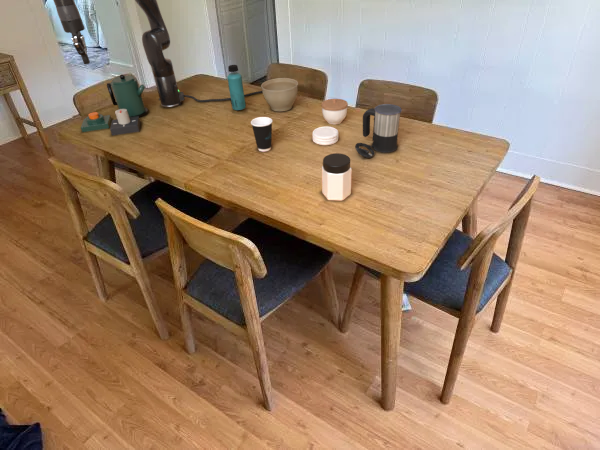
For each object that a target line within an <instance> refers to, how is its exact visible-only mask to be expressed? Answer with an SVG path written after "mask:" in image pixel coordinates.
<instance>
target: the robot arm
mask: <svg viewBox="0 0 600 450" xmlns="http://www.w3.org/2000/svg"><path fill="white" fill-rule="evenodd" d="M52 1H53V3H54V6H55V10H56V12H57V16H58V18H59V21H60V23H61V26H62V29H63V31H64V33H67V34H71V37H70V38H71V41H72V45H73V48H75V50H76V52H77V55H79V56H80V57H81V60H82V62H83V64H84V65H89V64H90V63H91V61H90V58H89V55H88V48H87V44H86V40H85V36H84V34H82V32H83V31H85V25H84V22H83V19H82V16H81V13H80V11H79V8H78V7H77V4H76V2H75V0H52ZM134 2H135V3H136V4H137V5H138V6H139V8H140V9H141V10H142V11H143V13H144V14H145V16H146V18H147V21H148V24H149V26H150V29H149V30H146V31H144V32H143V33H142V35H141V36H142V37H141V43H142V47H143V50H144V54H145V56H146V59H147V62H148V64H149V66H150V67H151V71H152V76H153V78H154V83H155V86H156V90H157V94H158V101H159V103H160V105H161V107H162V108H165V109H171V108H177V107H179V106H182V101H185V98H189V99H193V100H194V101H195V102H198V103H209V102H225V101H231V97H227V98H226V97H225V98H210V99H197V98H196V97H194V96H192V95H188V94H187V95H186V94H185V93H184V91H180V90H179V86H178V82H177V79H176V75H175V70H174V66H173V62H172V60H171V59H170V58H167V57H165V55H164V52H163V51H165V50H167V49H169V47H170V46H171V37H170V34H169V31H168V28H167V26H166V23H165V21H164V18H163V16H162V13H161V10H160V7H159V3H158V0H134ZM259 94H263V91H262V90H259V91H254V92H250V93H246V94H245V93H244V97H245V98H246V97H249V96H253V95H259Z"/></svg>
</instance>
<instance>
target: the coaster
mask: <svg viewBox="0 0 600 450" xmlns="http://www.w3.org/2000/svg"><path fill="white" fill-rule="evenodd" d="M311 134H312V135H311V137H312V141H313V143H315V144H317V145H320V146H331V145H334V144H336V143H337V142H338V141H339V130H338V129H337V128H335V127H333V126H328V125H327V126H319V127H316V128H314V129H313V130H312V133H311Z"/></svg>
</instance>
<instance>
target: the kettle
mask: <svg viewBox="0 0 600 450" xmlns="http://www.w3.org/2000/svg"><path fill="white" fill-rule="evenodd" d="M106 87H107V91H108V94H109V97H110V100H111V103H112V105H113V106H117V108H118V110H119V109H127V112H128V115H129V117H136V116H139V119H141V118H144V117H146V116H147V115H148V114H149V109H148V108H147V107H146V106H145V103H144V100H143V96H142V94H143V92H144V91H145V87H146V86H145V85H144V84H140V85H139V83H138V79H137V78H136V77H134V76H133V75H125V74H120V75H119V76H117V77H115V78H113V79H112V80H111V82H107V83H106Z"/></svg>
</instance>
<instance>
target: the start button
mask: <svg viewBox="0 0 600 450" xmlns="http://www.w3.org/2000/svg"><path fill="white" fill-rule="evenodd" d="M99 114H100V113H99V112H98V111H93V112H90V113H89V114H87V115H88V116H89V118H90V119H96V118H99ZM88 116H87V117H88Z"/></svg>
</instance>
